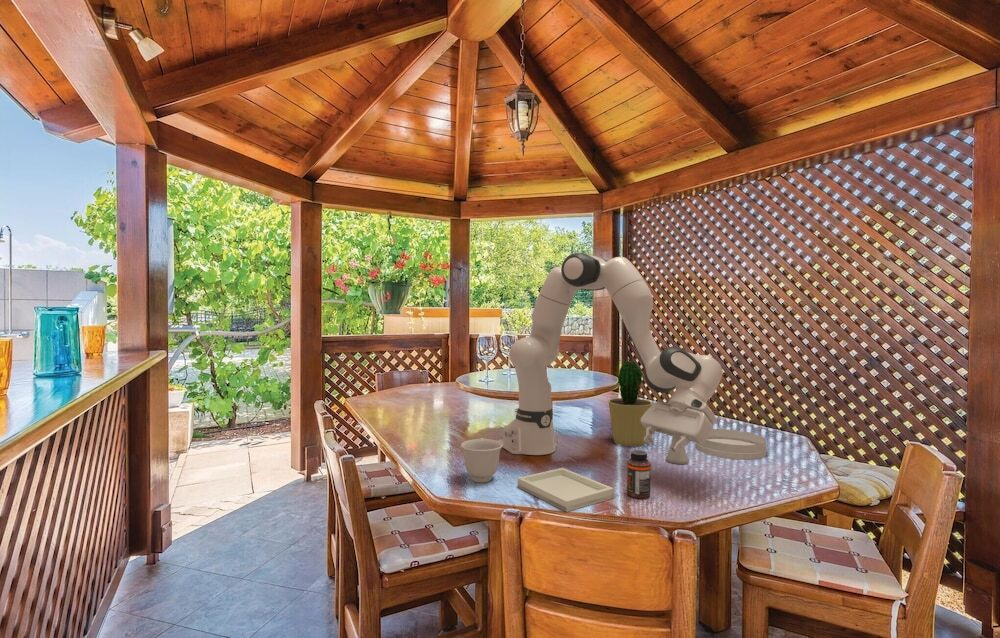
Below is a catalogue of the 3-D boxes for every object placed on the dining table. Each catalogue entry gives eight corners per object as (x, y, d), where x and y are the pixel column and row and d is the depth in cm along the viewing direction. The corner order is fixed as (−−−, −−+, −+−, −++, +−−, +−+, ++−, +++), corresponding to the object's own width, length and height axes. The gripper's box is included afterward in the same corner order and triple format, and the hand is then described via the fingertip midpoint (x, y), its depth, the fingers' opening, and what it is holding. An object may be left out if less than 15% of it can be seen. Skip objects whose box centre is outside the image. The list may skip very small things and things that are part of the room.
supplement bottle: (623, 491, 134) (623, 448, 134) (645, 490, 135) (645, 448, 135) (631, 499, 128) (631, 455, 128) (654, 499, 129) (654, 454, 129)
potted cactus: (631, 450, 173) (632, 362, 172) (599, 440, 186) (599, 359, 185) (661, 443, 181) (662, 360, 181) (628, 434, 194) (629, 356, 194)
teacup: (502, 469, 153) (502, 436, 152) (503, 486, 138) (503, 450, 137) (462, 469, 152) (462, 436, 152) (459, 486, 137) (459, 450, 137)
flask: (691, 465, 157) (691, 433, 156) (666, 464, 158) (666, 432, 158) (687, 458, 164) (687, 428, 163) (663, 457, 165) (664, 426, 165)
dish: (683, 450, 175) (683, 435, 174) (713, 439, 189) (713, 425, 189) (750, 465, 158) (750, 449, 158) (777, 451, 173) (777, 437, 173)
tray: (517, 487, 137) (517, 477, 137) (562, 476, 146) (562, 467, 146) (566, 511, 121) (566, 501, 121) (613, 498, 129) (613, 488, 129)
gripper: (651, 393, 148) (626, 430, 143) (711, 405, 130) (684, 448, 125) (661, 407, 150) (637, 444, 145) (722, 420, 132) (696, 463, 128)
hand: (659, 446), depth 135 cm, fingers open, 8 cm apart
